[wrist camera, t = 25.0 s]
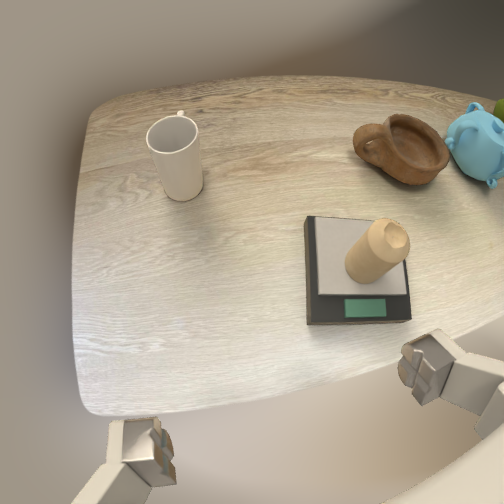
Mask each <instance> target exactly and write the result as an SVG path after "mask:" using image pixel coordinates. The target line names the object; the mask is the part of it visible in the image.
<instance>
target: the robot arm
mask: <svg viewBox="0 0 504 504" xmlns="http://www.w3.org/2000/svg"><path fill="white" fill-rule="evenodd" d="M401 353H402V355H403V357H402V358H401V359H400V361H399V363H398V373H399V376H400V379H401V381H402V382H403V383H404V385H405V386H408V387H411V388H412V395H413V396H414V397H415V399H416V400H417V401H418V403H419V404H420V405H421V406H423V405H425V404H427V403H429V402H431V401H432V400H434V399H436V398H438V397H440V398H442V399H444V400H446V401H448V402H450V403H452V404H455V405H457V406H459V407H461V408H464V409H466V410H468V411H470V412H473V413H475V414H477V415H479V416H480V418H479V419H478V421H477V422H476V424H475V426H474V429H475V431H476V432H477V433H478V435H479V436H480V437H481V438H482V441H481V442H479V443H478V444H477V445H476V446H474V447H473V448H472V449H470V450H469V451H468V452H466V453H465V454H463V455H462V456H461V457H459V458H458V459H456V460H455V461H453V462H452V463H451V464H449V465H448V466H446V467H445V468H443V469H441V470H440V471H438V472H437V473H435V474H434V475H432V476H430V477H429V478H427V479H425V480H424V481H422V482H420V483H419V484H417V485H415V486H413V487H411V488H410V489H408V490H406V491H404V492H403V493H401V494H399V495H397V496H395V497H393V498H391V499H389V500H387V501H385V502H383V503H380V504H504V361H500V360H497V359H492V358H489V357H486V356H482V355H478V354H475V353H471V352H469V353H466V352H465V351H464V350H463V349H462V348H460V347H459V346H458V345H457V344H456V343H455V342H454V341H453V340H452V339H451V338H450V337H449V336H448V335H447V334H445V333H444V332H443V331H442V330H441V329H435V330H433V331H431V332H429V333H427V334H424V335H422V336H420V337H418V338H416V339H414V340H412V341H410V342H408V343H406V344H404V345H403V347H402V350H401ZM173 456H174V452H173V446H172V442H171V439H170V436H169V434H168V433H167V431H166V430H165V429H162V428H161V422H160V420H159V419H158V417H149V418H139V419H128V420H118V421H111V423H110V425H109V430H108V440H107V452H106V464H101V465H100V467H99V468H98V469H97V471H96V472H95V473H94V475H93V476H92V477H91V478H90V480H89V481H88V482H87V484H86V485H85V486H84V487H83V489H82V490H81V491H80V493H79V494H78V495H77V496H76V498H75V499H74V500H73V502H72V503H71V504H144V503H145V502H146V500H147V498H148V495H149V494H150V492H151V490H152V488H151V487H160V486H168V485H176V475H175V474H176V473H175V467H174V466H173V464H172V463H171V462H170V461H171V459H172V458H173Z"/></svg>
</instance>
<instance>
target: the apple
mask: <svg viewBox="0 0 504 504" xmlns="http://www.w3.org/2000/svg"><path fill="white" fill-rule="evenodd" d="M493 115H494V116H495V117H497V118H499V119H500V120H501V121H502V122H503V123H504V99H500V100H499V101H497V104H496V106H495V109H494V113H493Z"/></svg>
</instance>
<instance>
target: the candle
mask: <svg viewBox="0 0 504 504" xmlns="http://www.w3.org/2000/svg"><path fill="white" fill-rule="evenodd" d="M409 250H410V241H409V237H408V235H407V233H406V231H405V229H404V228H403V227H402V226H401V225H400V224H399V223H397V222H396V221H394V220H391V219H387V218H382V219H378V220H376V221H375V222H373V224H372V225H371V226H370V227H369V228H368V229H367V230H366V232H365V233H364V234H363V235H362V236H361V237H360V239H359V240H358V241H357V242H356V243H355V244H354V245H353V247H352V248H351V249H350V250H349V251H348V253H347V255H346V258H345V268H346V271H347V273H348V274H349V276H350V277H351V278H352V279H353V280H354V281H356V282H358V283H362V284H368V283H372V282H374V281H375V280H377V279H378V278H380V277H381V276H383V275H384V274H385V273H387V272H388V271H389V270H391V269H392V268H393V267H395V266H396V265H398V264H399V263H400V262H402V261H403V260H404V259H405V258H406V257H407V255H408V253H409Z"/></svg>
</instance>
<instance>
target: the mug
mask: <svg viewBox="0 0 504 504" xmlns="http://www.w3.org/2000/svg"><path fill="white" fill-rule="evenodd" d="M146 142H147V145H148V148H149V151H150V154H151V157H152V159H153V162H154V165H155V167H156V170H157V172H158V175H159V178H160V181H161V183H162V185H163V188H164V190H165V193H166V194H167V195H168V196H169V197H170V198H171V199H173V200H176V201H187V200H190V199H192V198H194V197H195V196H197V195H198V194H199V193H200V191H201V189H202V186H203V176H202V164H201V154H200V143H199V135H198V127H197V125H196V123H195V122H194V121H193V120H192V119H190V118H188V117H186V116H185V114H184V111H178V112H177V115H175V116H169V117H165V118H163V119H161V120H159V121H157V122H156V123H154V124H153V125H152V126H151V127H150V129H149V130H148V132H147V135H146Z"/></svg>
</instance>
